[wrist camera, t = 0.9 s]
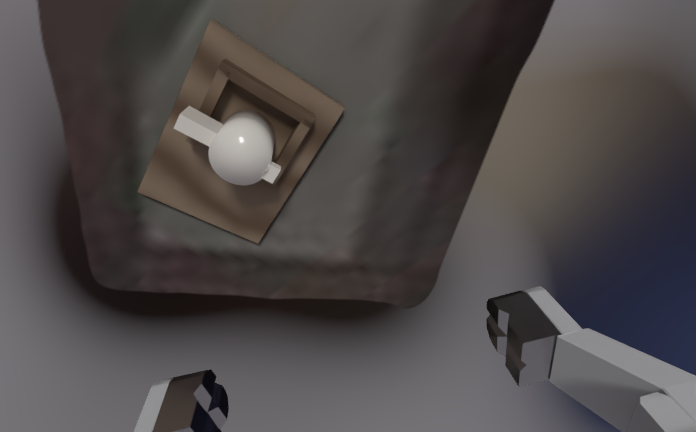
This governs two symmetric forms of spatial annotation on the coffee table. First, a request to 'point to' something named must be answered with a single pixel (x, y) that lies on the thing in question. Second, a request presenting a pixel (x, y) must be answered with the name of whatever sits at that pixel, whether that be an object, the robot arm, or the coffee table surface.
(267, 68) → the cradle board
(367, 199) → the coffee table surface
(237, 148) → the white capsule with handle
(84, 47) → the coffee table surface
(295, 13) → the coffee table surface
